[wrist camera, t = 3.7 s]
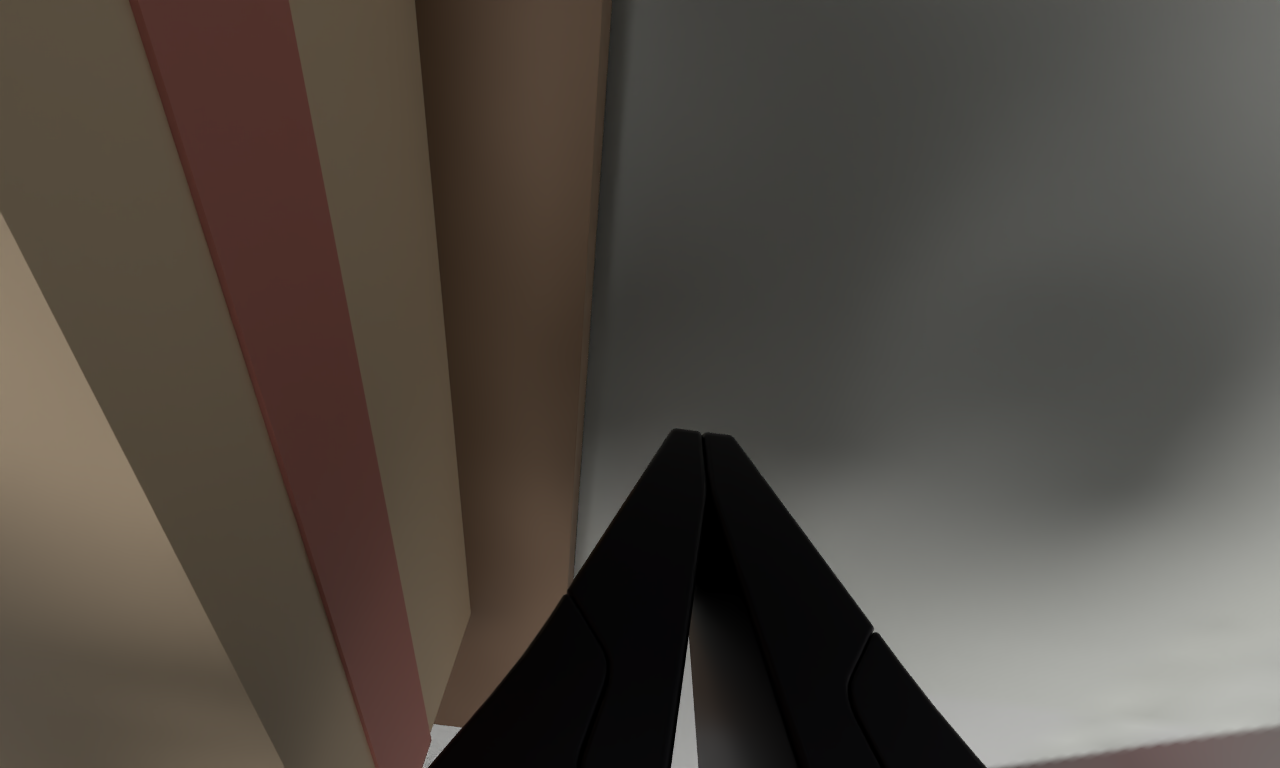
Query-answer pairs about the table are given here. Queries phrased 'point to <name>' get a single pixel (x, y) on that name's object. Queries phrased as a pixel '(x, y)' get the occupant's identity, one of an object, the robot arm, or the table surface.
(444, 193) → the display board
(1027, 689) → the table surface
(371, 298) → the kraft carton
